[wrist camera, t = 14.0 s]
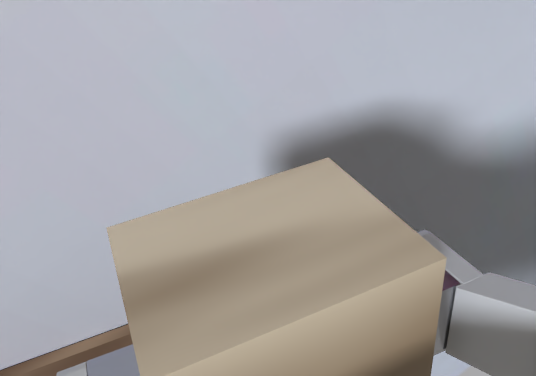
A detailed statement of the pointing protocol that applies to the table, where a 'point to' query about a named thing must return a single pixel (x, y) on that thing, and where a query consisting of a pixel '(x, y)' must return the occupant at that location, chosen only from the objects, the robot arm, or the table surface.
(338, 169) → the oak block
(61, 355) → the brown wooden shallow box
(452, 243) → the table surface
